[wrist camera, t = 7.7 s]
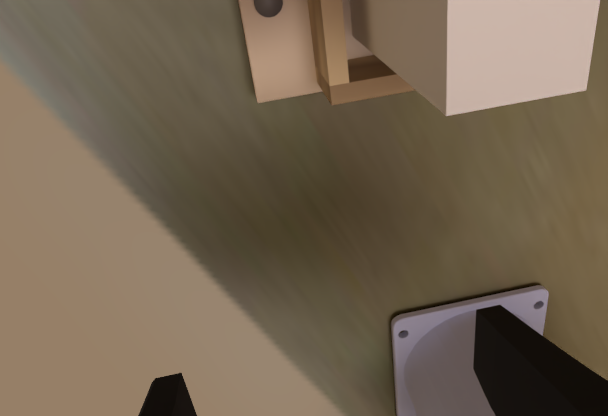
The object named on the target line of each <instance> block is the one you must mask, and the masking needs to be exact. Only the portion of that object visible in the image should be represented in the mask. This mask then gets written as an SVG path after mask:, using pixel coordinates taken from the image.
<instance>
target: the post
mask: <svg viewBox="0 0 608 416" xmlns="http://www.w3.org/2000/svg"><path fill="white" fill-rule="evenodd" d="M349 1H350V13H351V26H352V36H353V37H354V38H355V39H356V40H358V41H359V42H360V43H361V44H362V45H363V46H365V47H366V48H367V49H368V50H369V51H370V52H372V53H373V54H374V55H375V56H376V57H378V58H379V59H380V60H381V61H382V62H383V63H385V64H386V65H387V66H388V67H389V68H390V69H392V70H393V71H394V72H395V73H396V74H397V75H399V76H400V77H401V78H402V79H403V80H405V81H406V82H407V83H408V84H409V85H410V86H412V87H413V88H414V89H415V90H416V91H417V92H419V93H420V94H421V95H422V96H423V97H424V98H426V99H427V100H428V101H429V102H430V103H432V104H433V105H434V106H435V107H436V108H437V109H439V110H440V111H441V112H442V113H443V114H444V115H446V116H449V115H455V114H460V113H466V112H471V111H476V110H482V109H487V108H493V107H498V106H504V105H509V104H514V103H520V102H525V101H531V100H536V99H541V98H547V97H552V96H558V95H563V94H569V93H574V92H579V91H585V90H586V88H587V82H588V75H589V69H590V62H591V56H592V49H593V42H594V36H595V29H596V23H597V16H598V10H599V3H600V0H349Z"/></svg>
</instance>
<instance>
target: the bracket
mask: <svg viewBox="0 0 608 416" xmlns="http://www.w3.org/2000/svg"><path fill="white" fill-rule="evenodd" d="M238 3H239V8H240V14H241V19H242V25H243V30H244V35H245V41H246V46H247V52H248V57H249V63H250V68H251V73H252V79H253V84H254V90H255V95H256V98H257V102H258V103H261V102H267V101H272V100H278V99H283V98H289V97H294V96H300V95H306V94H311V93H317V92H322V91H323V92H324V94H325V95H326V97H327V99H328V100H329V102H330V103H331V105H337V104H342V103H348V102H353V101H359V100H364V99H370V98H375V97H381V96H386V95H392V94H397V93H403V92H408V91H414V90H415V89H414V88H413V87H412V86H410V85H409V84H408V83H407V82H406V81H405V80H403V79H402V78H401V77H400V76H399V75H397V74H396V73H395V72H394V71H393V70H392V69H390V68H389V67H388V66H387V65H386V64H385V63H383V62H382V61H381V60H380V59H379V58H378V57H376V56H375V55H374V54H373V53H372V52H370V51H369V50H368V49H367V48H366V47H365V46H363V45H362V44H361V43H360V42H359V41H358V40H356V39H355V38H354V37H353V36H352V26H351V13H350V1H349V0H238Z"/></svg>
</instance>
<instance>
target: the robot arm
mask: <svg viewBox="0 0 608 416" xmlns="http://www.w3.org/2000/svg"><path fill="white" fill-rule="evenodd" d="M548 296H549V293H548V291H547V290H546V289H545V288H544V287H543V286H541V285H537V286H532V287H527V288H522V289H518V290H513V291H508V292H504V293H499V294H494V295H489V296H485V297H480V298H475V299H471V300H466V301H461V302H457V303H452V304H447V305H442V306H438V307H433V308H428V309H424V310H419V311H414V312H409V313H405V314H400V315H397V316H396V317H394V318H393V320H392V322H391V332H392V349H393V365H394V382H395V399H396V415H397V416H608V381H607V380H606V379H604V378H602V377H601V376H599V375H598V374H596V373H595V372H593V371H592V370H590V369H589V368H587V367H586V366H584V365H583V364H581V363H580V362H579V361H577V360H576V359H574V358H573V357H571V356H570V355H568V354H567V353H566V352H564V351H563V350H561V349H560V348H558V347H557V346H556V345H554V344H553V343H552V342H550V341H549V340H547V339H546V338H545V337H543V331H544V324H545V317H546V310H547V303H548ZM536 302H537V303H536ZM535 303H536V304H535ZM403 330H405V331H404V332H402V333H400V332H401V331H403ZM138 416H197V415H196V412H195V409H194V406H193V404H192V401H191V398H190V395H189V393H188V390H187V387H186V384H185V382H184V379H183V376H182V373H179V374H174V375H169V376H164V377H160V378H156V379H155V380H154V381H153V382H152V384H151V386H150V389H149V391H148V394H147V396H146V399H145V401H144V404H143V406H142V408H141V411H140V413H139V415H138Z"/></svg>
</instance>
